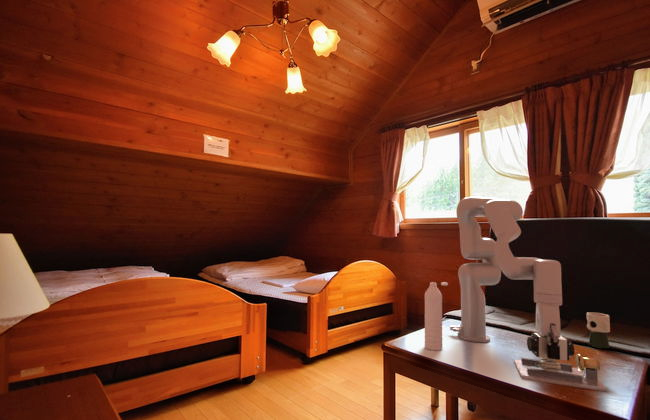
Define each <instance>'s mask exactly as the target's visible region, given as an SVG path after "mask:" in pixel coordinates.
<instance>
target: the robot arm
mask: <svg viewBox="0 0 650 420" xmlns="http://www.w3.org/2000/svg"><path fill="white" fill-rule="evenodd" d="M456 206H457V207H456V218H457V219H456V220H457V222H458V227H459V242H460V252H461V253H460V254H461V256H462V257H463V258H464V259H467V260H470V261H471V260H474V261H475V260H476V261H477V260H479V261H480V260H481V261H482V262H466V263H463V264H462V265H460V266H459V268H458V271H457V275H458V280H459V287H460V310H461V311H460V312H461V313H460V314H461V315H460V325H457V326H456V325H450V326H449V330H450V331H452V332H457V337H458V338H459V339H461V340H464V341H467V342H473V343H487V342H490V340H491V337H490V336H489V335H488V334H487V329H486V328H487V327H486V324H487V323H486V322H487V321H486V318H487V315H486V296H485V293H484V291H483V289H482V286H495V285H497V284H499V283H500V281H501V279H502V278H501V277H502V274H503V275H505V277H507V278H508V279H510V280H514V281H515V280H518V281H519V280H522V281H523V280H529V281H530V280H532V281H533V302H534V303H536V305H535V330H536V331H537V333H540V334H541V335H542V336H543V337H544V336H547V341H548V344H547V357H548V358H549V359H554V360H555V359H556V360H557V361H559V360H560V344H559V339H558V338H559V337H560V336H561V317H560V306H562V305H563V288H562V287H563V286H562V264H561V263H560V261H558V260H555V259H554V260H553V259H542V258H538V257H526V256H525V257H524V256H521V257H519V256H515V255H513V254H514V253H512V250H511V249H510V245H509V244H510V243H511V242H512V241H514V240H516V239H518V238H519V237H520V236H521V234H522V230H521V228H520V226H519V224H518V222H517V221H520V220H521V219H522V217H523V214H524V210H523V208H522V205H521V204H520V203H519V202H518V201H516V200H510V199H504V198H497V197H486V196H485V197H483V196H468V197H464V198H462V199H461V200H459V202H458V204H457V205H456ZM476 217H477V218H486V221H487V222H488V224H489V225H490V226H489V227H490V228H491V230H492V231H493V234H494V235H495V237H496V241H495V240H494V239H493V238H489V237H482V228H481V226H480V224H479V222H478V220H477V219H476ZM549 334H550V335H549ZM550 338H551V341H550ZM560 361H561V360H560Z"/></svg>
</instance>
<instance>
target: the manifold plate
mask: <svg viewBox="0 0 650 420" xmlns="http://www.w3.org/2000/svg"><path fill="white" fill-rule="evenodd" d="M574 359H575V360H574V361H575V365H576V367H573V365H572V364H571V363H566V362H565V363H564V362H558V361H556V362H557V363H559V364H560V366H561V370H560V371H558V372H555V371H548V370H544V369H541V368H540V365H539V362H540V361H542V360H541V359H534V358H528V357H527V358H526V357H521V358H520V359H513V364H514V365H515V368H516V370H517V372H518V374H519V376H520V378H521V380H522V379H523V380H529V381H535V382H536V381H537V382H542V383H549V384H554V385H555V384H556V385H562V386H569V387H575V388H581V389H589V390H595V391H601V392H607V386H605V385H604V384H603V383H602V382H601V381H600V380H599V379H598V371H600V370H601V363H600V360H599V358H592V357H583V355H582V354H581V353H576V354H575V358H574Z"/></svg>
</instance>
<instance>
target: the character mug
mask: <svg viewBox="0 0 650 420" xmlns="http://www.w3.org/2000/svg"><path fill="white" fill-rule="evenodd" d="M586 320H587V323H586V328H587V330H589V331H590V332H589V338H588V345H589V346H591V347H593V348H598V349H601V350H603V349H610V343H609V338H608V334H607V333H610V332H611V323H610V322H611V321H610V315H609V314H605V313H601V312H594V311H593V312H588V311H587V312H586Z"/></svg>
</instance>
